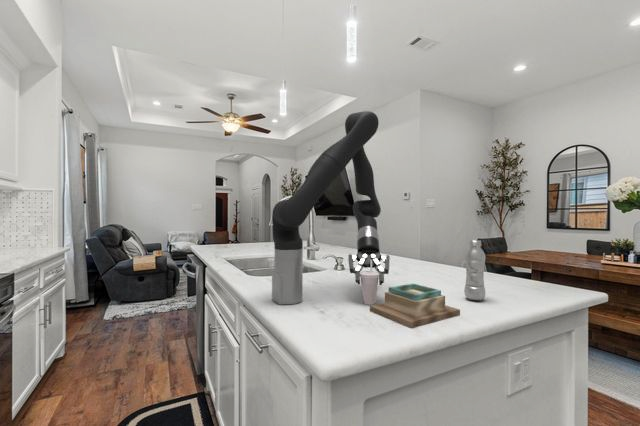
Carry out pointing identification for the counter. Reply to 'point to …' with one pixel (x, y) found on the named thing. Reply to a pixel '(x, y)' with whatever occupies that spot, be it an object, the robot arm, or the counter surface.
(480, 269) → the plastic bottle
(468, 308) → the counter surface
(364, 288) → the smoothie
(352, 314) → the counter surface
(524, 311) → the counter surface
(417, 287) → the pedestal
